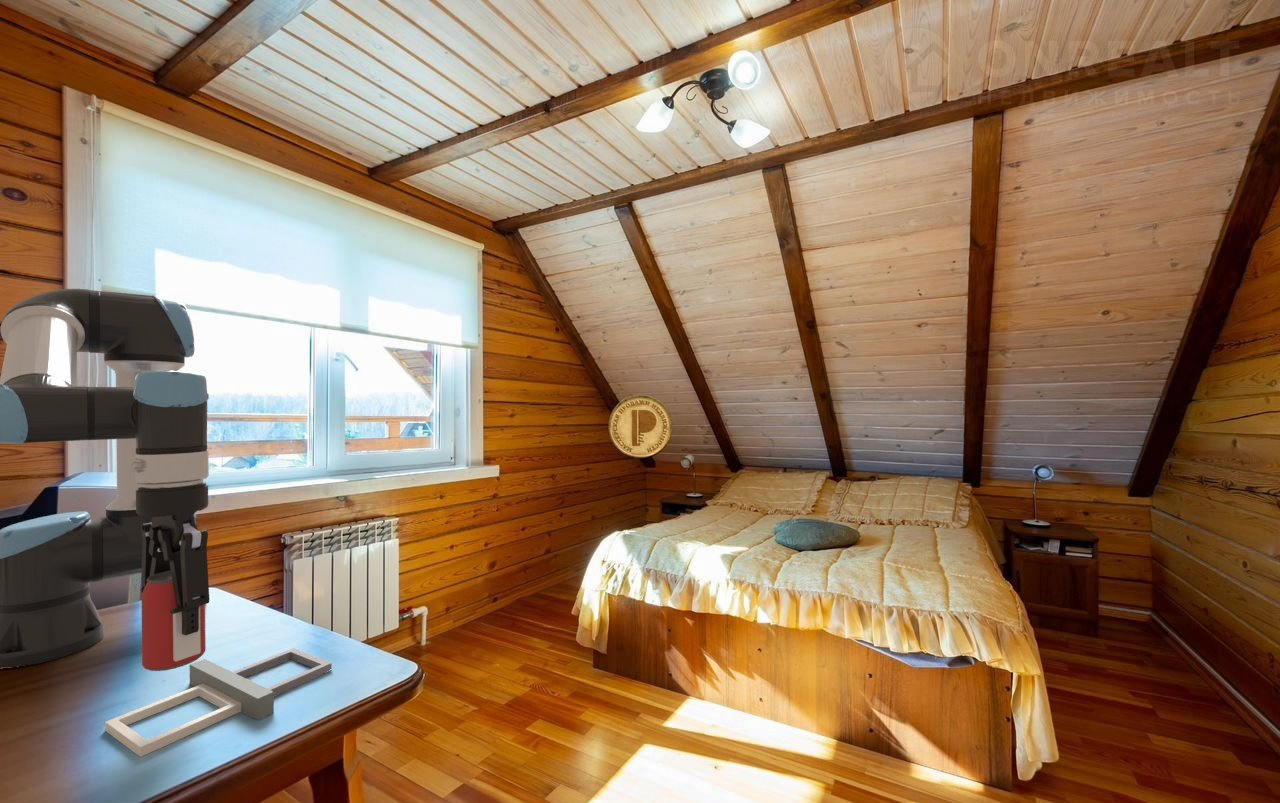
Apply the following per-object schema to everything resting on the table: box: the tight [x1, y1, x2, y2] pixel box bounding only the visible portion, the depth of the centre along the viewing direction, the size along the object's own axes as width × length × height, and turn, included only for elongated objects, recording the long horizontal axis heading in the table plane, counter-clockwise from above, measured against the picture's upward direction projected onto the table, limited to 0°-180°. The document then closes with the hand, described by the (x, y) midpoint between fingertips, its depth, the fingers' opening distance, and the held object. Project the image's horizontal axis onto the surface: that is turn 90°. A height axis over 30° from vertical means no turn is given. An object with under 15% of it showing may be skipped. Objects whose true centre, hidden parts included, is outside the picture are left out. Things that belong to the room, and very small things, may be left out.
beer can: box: [140, 570, 207, 672], centre depth 74 cm, size 7×7×12 cm
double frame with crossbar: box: [104, 647, 333, 758], centre depth 80 cm, size 20×24×3 cm
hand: (174, 650), depth 74 cm, fingers closed on beer can, 7 cm apart
